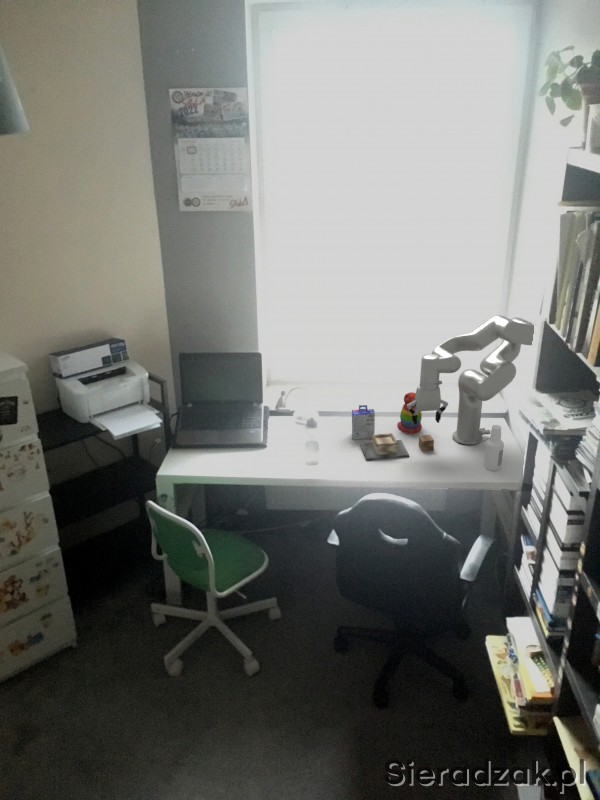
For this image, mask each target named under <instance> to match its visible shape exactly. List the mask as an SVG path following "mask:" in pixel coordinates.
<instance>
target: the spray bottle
mask: <svg viewBox="0 0 600 800" xmlns="http://www.w3.org/2000/svg"><path fill="white" fill-rule="evenodd" d="M501 438H502V427H501V426H500V425H497V424H493V425H492V426H491V430H490V436H489V438H488V439H487V440H486V441H485V446H484V447H485V449H484V457H483V467H484V469H487V470H488V471H492V472H493V471H496V470H497V471H499V470H501V469H502V466H503V465H502V463H503V455H504V447H505V446H504V445H505V443H504V441H503V440H502V439H501Z"/></svg>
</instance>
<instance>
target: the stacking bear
mask: <svg viewBox="0 0 600 800" xmlns="http://www.w3.org/2000/svg"><path fill="white" fill-rule="evenodd" d="M415 394H416V392H413V391H412V392H410V391H409V392H408V393H406V394H405V395H404V397H403V401H404V404H403V405H402V407H401V411H400V417H399V418H400V421H398V422H397V426H396V427H397V429H398V430H400V431H401V432H402V433H404V434H417V433H419V432H421V430H422V428H423V427H422V423H421V422H422V416H423V415H422V411H419V412H418V413H417V414H416V415H417V424H414V422H413V421H412V413H411V412H410V411H409V409H408V407H407V404H409V403H411V402H413V401H414V400H415ZM414 408H415V407H414V406H412V407H411V409H414Z"/></svg>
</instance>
